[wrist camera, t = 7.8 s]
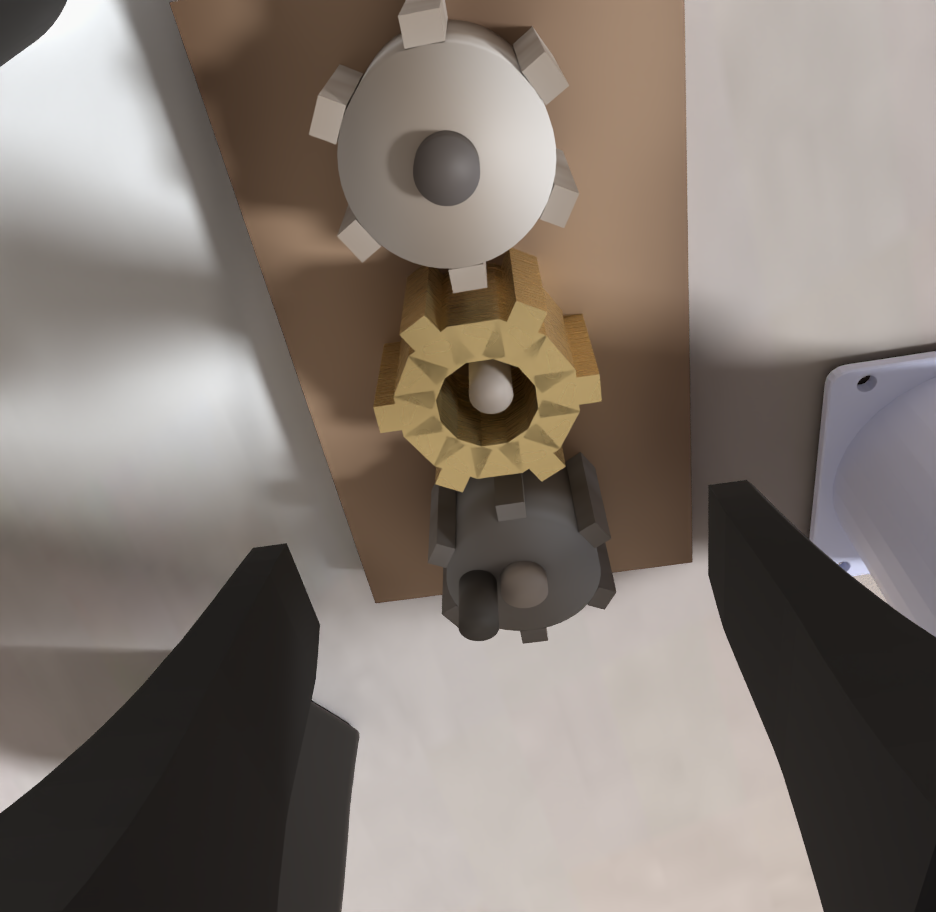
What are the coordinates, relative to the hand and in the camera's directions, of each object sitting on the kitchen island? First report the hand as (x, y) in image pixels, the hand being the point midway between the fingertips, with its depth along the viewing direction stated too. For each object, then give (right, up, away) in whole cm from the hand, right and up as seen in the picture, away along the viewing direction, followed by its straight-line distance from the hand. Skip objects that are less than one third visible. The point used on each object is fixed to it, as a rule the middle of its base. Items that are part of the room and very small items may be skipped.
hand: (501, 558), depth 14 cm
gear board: (0, +5, +8) cm, 9 cm away
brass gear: (0, +5, +6) cm, 8 cm away
